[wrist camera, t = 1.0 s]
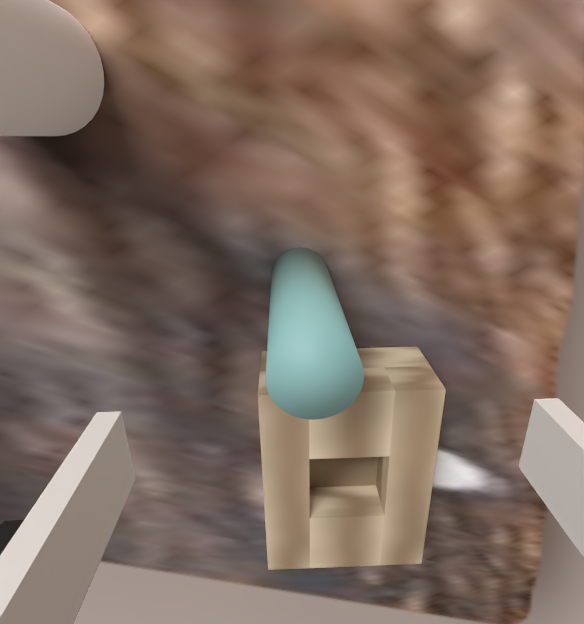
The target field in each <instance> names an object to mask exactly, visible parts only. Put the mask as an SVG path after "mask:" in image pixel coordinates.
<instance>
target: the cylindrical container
mask: <svg viewBox="0 0 584 624" xmlns="http://www.w3.org/2000/svg"><path fill="white" fill-rule="evenodd" d="M103 91H104V71H103V66H102V62H101V58H100V55H99V53H98V50H97V48H96V45H95V44H94V42H93V40H92V38H91V37H90V35H89V33H88V32H87V31H86V30H85V28H84V27H83V26H82V25H81V23H80V22H79V21H78V20H77V19H76V18H74V17H73V16H72V15H71V14H70V13H69V12H68V11H66V10H64V9H63V8H61V7H59V6H58V5H56V4H54V3H53V2H51V1H49V0H0V136H63V135H68V134H71V133H74V132H76V131H78V130H80V129H81V128H83V127H85V126H86V125H87V124H88V123H89V122H90V121H91V120H92V119H93V117H94V116H95V114H96V112H97V111H98V109H99V107H100V104H101V101H102V98H103Z"/></svg>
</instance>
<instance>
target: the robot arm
mask: <svg viewBox="0 0 584 624" xmlns="http://www.w3.org/2000/svg"><path fill="white" fill-rule="evenodd" d="M519 468H520V470H521V471H522V472H523V474H524V475H525V477H526V478H527V479H528V481H529V482H530V483H531V485H532V486H533V488H534V489H535V490H536V492H537V493H538V495H539V496H540V497H541V499H542V500H543V502H544V503H545V504H546V506H547V507H548V509H549V510H550V511H551V513H552V514H553V516H554V517H555V518H556V520H557V521H558V522H559V524H560V525H561V527H562V528H563V529H564V531H565V532H566V534H567V535H568V536H569V538H570V539H571V541H572V542H573V543H574V545H575V546H576V547H577V549H578V550H579V552H580V553H581V554H582V556H583V557H584V422H583V421H582V420H581V419H580V418H578V417H577V416H576V415H575V414H574V413H573V412H572V411H571V410H570V409H569V408H568V407H567V406H566V405H565V404H564V403H563V402H562V401H561V400H559V399H558V398H555V399H534V403H533V407H532V412H531V416H530V420H529V425H528V429H527V433H526V437H525V442H524V446H523V450H522V454H521V459H520V463H519ZM134 482H135V474H134V469H133V465H132V460H131V455H130V450H129V446H128V441H127V436H126V431H125V427H124V422H123V417H122V412H97V413H96V414H95V416H94V417H93V419H92V420H91V422H90V423H89V425H88V426H87V428H86V429H85V431H84V432H83V434H82V435H81V437H80V438H79V440H78V441H77V443H76V444H75V446H74V447H73V448H72V450H71V451H70V453H69V454H68V456H67V457H66V459H65V460H64V462H63V463H62V465H61V466H60V468H59V469H58V471H57V472H56V474H55V475H54V477H53V478H52V480H51V481H50V483H49V484H48V485H47V487H46V488H45V490H44V491H43V493H42V494H41V496H40V497H39V499H38V500H37V502H36V503H35V505H34V506H33V508H32V509H31V511H30V512H29V514H28V515H27V517H26V518H25V520H17V521H5V522H4V523H3V524H1V525H0V624H73V623H74V621H75V619H76V616H77V614H78V612H79V609H80V607H81V605H82V602H83V600H84V598H85V595H86V593H87V591H88V588H89V586H90V584H91V581H92V579H93V577H94V574H95V572H96V570H97V567H98V565H99V563H100V561H101V558H102V556H103V554H104V551H105V549H106V547H107V544H108V542H109V540H110V537H111V535H112V533H113V530H114V528H115V526H116V523H117V521H118V519H119V516H120V514H121V512H122V509H123V507H124V505H125V502H126V500H127V498H128V495H129V493H130V491H131V489H132V486H133V484H134Z"/></svg>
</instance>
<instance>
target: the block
mask: <svg viewBox="0 0 584 624" xmlns="http://www.w3.org/2000/svg"><path fill="white" fill-rule="evenodd" d="M356 349H357V351H358V354H359V357H360V360H361V363H362V365H363V370H364V380H363V385H362V389H361V391H360V393H359V395H358V397H357V398H356V399H355V401H354V402H353V403H352V404H351V405H350V406H349V407H348V408H346V409H345V410H344V411H342V412H340V413H339V414H336V415H334V416H331V417H328V418H324V419H316V420H310V419H302V418H298V417H295V416H292V415H290V414H288V413H286V412H284V411H283V410H282V409H280V408H279V407H278V406H277V405H276V404H275V403H274V402H273V400H272V399H271V397H270V395H269V393H268V390H267V387H266V361H267V351H262V352H261V364H260V376H259V387H258V407H259V424H260V440H261V457H262V474H263V490H264V507H265V524H266V540H267V557H268V570H272V569H298V568H324V567H350V566H375V565H401V564H421V563H422V556H423V549H424V542H425V534H426V527H427V520H428V513H429V506H430V499H431V492H432V485H433V477H434V470H435V463H436V456H437V449H438V442H439V435H440V427H441V420H442V413H443V406H444V399H445V392H446V389H445V388H444V386H443V384H442V383H441V381H440V380H439V378H438V377H437V375H436V374H435V372H434V371H433V369H432V368H431V366H430V365H429V363H428V362H427V360H426V359H425V357H424V356H423V354H422V353H421V351H420V350H419V348H418V347H385V348H356Z"/></svg>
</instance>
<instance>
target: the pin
mask: <svg viewBox="0 0 584 624" xmlns="http://www.w3.org/2000/svg"><path fill="white" fill-rule="evenodd" d="M363 380H364V370H363V365H362V363H361V360H360V357H359V354H358V351H357V349H356V346H355V343H354V340H353V338H352V335H351V332H350V329H349V327H348V324H347V321H346V318H345V316H344V313H343V310H342V307H341V305H340V302H339V299H338V296H337V294H336V291H335V288H334V285H333V283H332V280H331V277H330V274H329V272H328V269H327V266H326V263H325V262H324V260H323V258H322V257H321V256H320V255H319V254H318V253H316V252H315V251H313V250H311V249H308V248H300V247H299V248H293V249H290V250H287V251H285V252H284V253H282V254H281V255H280V256H279V257H278V258H277V260H276V261H275V263H274V265H273V268H272V277H271V294H270V311H269V328H268V344H267V361H266V387H267V390H268V393H269V395H270V397H271V399H272V400H273V402H274V403H275V404H276V405H277V406H278V407H279V408H280V409H282V410H283V411H284V412H286V413H288V414H290V415H292V416H295V417H298V418H302V419H310V420H316V419H324V418H328V417H331V416H334V415H336V414H339V413H340V412H342V411H344V410H345V409H346V408H348V407H349V406H350V405H351V404H352V403H353V402H354V401H355V399H356V398H357V397H358V395H359V393H360V391H361V389H362V385H363Z"/></svg>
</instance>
